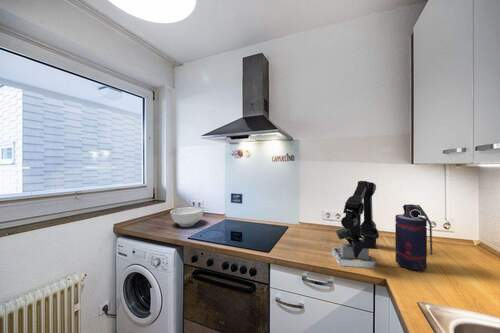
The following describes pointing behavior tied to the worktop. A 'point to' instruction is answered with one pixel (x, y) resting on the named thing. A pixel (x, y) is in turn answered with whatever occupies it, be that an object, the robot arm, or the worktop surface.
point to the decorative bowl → (187, 215)
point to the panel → (348, 252)
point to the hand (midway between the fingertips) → (354, 255)
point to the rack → (352, 260)
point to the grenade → (412, 238)
